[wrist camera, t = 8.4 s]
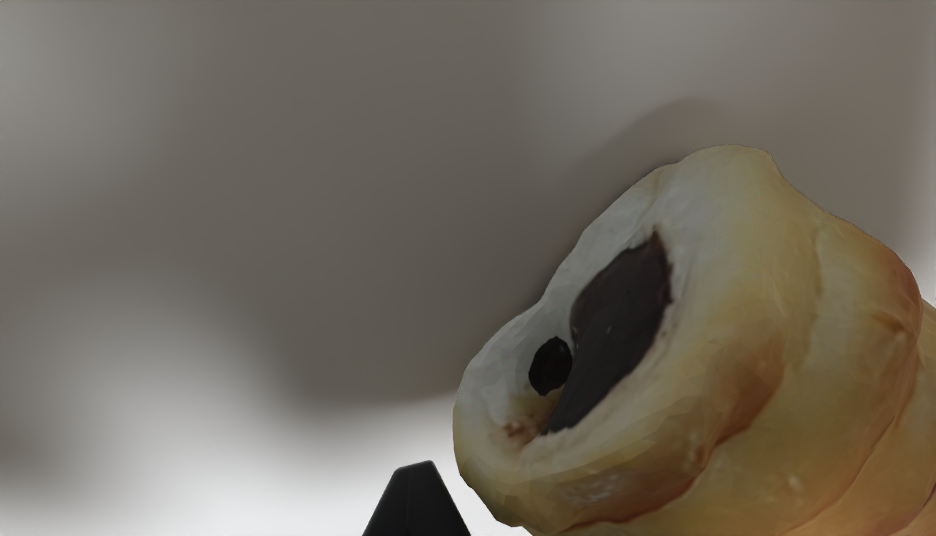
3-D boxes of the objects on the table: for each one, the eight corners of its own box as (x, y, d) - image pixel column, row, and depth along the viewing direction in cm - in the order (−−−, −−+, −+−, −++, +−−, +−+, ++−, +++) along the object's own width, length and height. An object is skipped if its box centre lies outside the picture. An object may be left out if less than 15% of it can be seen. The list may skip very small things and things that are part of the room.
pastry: (987, 385, 10) (1260, 566, 7) (731, 572, 13) (846, 782, 9) (675, 92, 7) (889, 160, 4) (406, 402, 10) (396, 620, 6)
